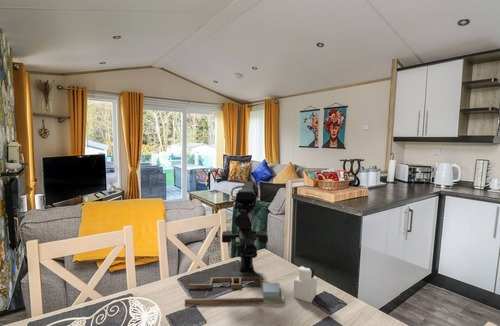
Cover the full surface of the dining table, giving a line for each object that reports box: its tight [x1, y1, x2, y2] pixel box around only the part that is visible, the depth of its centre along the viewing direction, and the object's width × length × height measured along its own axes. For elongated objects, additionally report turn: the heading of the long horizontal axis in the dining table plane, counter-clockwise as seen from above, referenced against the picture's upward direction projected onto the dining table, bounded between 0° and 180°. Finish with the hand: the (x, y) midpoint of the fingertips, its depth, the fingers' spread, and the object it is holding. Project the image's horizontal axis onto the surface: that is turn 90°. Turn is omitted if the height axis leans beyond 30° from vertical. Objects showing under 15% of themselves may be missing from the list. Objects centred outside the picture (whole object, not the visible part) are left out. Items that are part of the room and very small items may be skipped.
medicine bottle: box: [293, 263, 318, 304], centre depth 102 cm, size 7×7×12 cm
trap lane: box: [184, 276, 285, 305], centre depth 104 cm, size 16×37×2 cm, turn 94°
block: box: [261, 282, 280, 298], centre depth 101 cm, size 6×6×4 cm
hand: (244, 256), depth 108 cm, fingers closed
